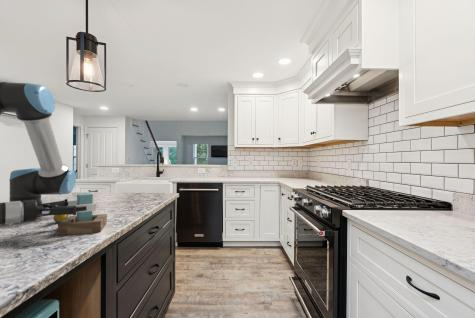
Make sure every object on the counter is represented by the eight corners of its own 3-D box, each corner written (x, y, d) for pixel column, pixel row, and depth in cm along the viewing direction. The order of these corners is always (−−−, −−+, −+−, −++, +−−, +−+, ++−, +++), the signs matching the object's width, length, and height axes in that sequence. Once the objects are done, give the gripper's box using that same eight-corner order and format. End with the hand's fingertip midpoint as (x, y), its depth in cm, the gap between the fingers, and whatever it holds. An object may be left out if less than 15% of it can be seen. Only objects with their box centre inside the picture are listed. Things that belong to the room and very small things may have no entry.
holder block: (69, 225, 104) (69, 216, 104) (106, 223, 108) (106, 214, 108) (57, 235, 91) (57, 224, 91) (100, 232, 95) (100, 221, 95)
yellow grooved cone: (71, 221, 113) (67, 209, 106) (58, 228, 109) (53, 216, 102) (66, 213, 114) (61, 201, 108) (53, 220, 111) (47, 208, 104)
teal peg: (76, 228, 100) (77, 194, 100) (89, 226, 103) (89, 193, 103) (79, 230, 96) (79, 195, 96) (92, 228, 99) (92, 194, 100)
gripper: (19, 216, 95) (82, 209, 110) (25, 229, 77) (99, 219, 92) (19, 196, 95) (83, 192, 110) (25, 205, 77) (99, 199, 92)
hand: (90, 204), depth 101 cm, fingers open, 13 cm apart
